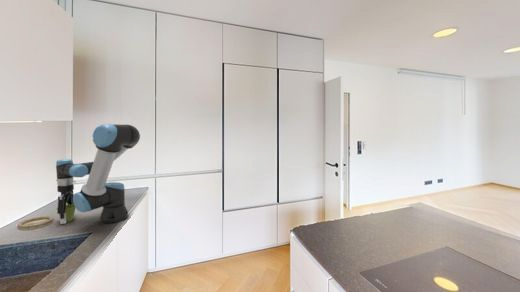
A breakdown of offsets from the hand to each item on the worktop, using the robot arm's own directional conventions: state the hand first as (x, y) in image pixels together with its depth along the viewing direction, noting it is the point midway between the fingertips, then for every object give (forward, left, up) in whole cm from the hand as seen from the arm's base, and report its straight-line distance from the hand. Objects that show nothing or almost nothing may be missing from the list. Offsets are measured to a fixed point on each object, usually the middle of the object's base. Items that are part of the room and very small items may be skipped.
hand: (67, 220), depth 137 cm
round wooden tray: (+9, +11, 0) cm, 14 cm away
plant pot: (0, 0, 0) cm, 0 cm away
